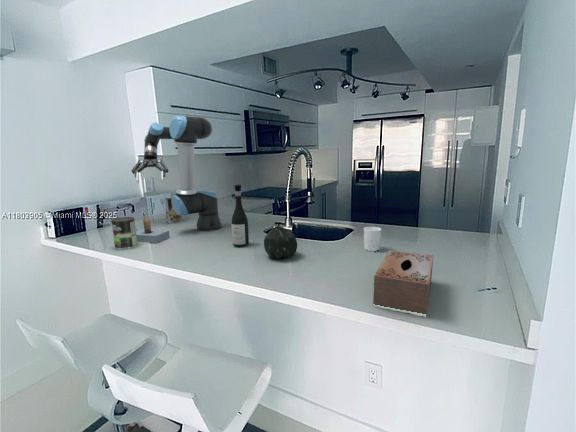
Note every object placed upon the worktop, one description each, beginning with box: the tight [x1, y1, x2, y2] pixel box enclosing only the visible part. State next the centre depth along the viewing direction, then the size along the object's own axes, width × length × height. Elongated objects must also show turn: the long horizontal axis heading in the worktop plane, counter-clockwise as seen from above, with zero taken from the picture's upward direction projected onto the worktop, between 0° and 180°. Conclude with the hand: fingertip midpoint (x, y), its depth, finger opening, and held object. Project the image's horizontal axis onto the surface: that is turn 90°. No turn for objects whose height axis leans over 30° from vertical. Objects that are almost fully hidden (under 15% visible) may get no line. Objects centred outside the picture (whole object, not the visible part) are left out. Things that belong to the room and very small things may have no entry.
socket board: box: [136, 228, 170, 244], centre depth 166 cm, size 18×11×4 cm, turn 76°
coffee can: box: [110, 216, 138, 251], centre depth 153 cm, size 10×10×14 cm
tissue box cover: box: [372, 249, 434, 315], centre depth 98 cm, size 26×14×10 cm, turn 153°
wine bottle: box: [230, 184, 250, 248], centre depth 150 cm, size 8×8×30 cm
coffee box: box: [164, 197, 184, 224], centre depth 207 cm, size 9×6×16 cm
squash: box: [263, 225, 298, 260], centre depth 135 cm, size 14×15×15 cm
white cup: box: [363, 226, 382, 250], centre depth 142 cm, size 8×8×10 cm
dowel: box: [142, 217, 152, 234], centre depth 165 cm, size 3×3×12 cm
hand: (150, 181), depth 181 cm, fingers open, 13 cm apart
